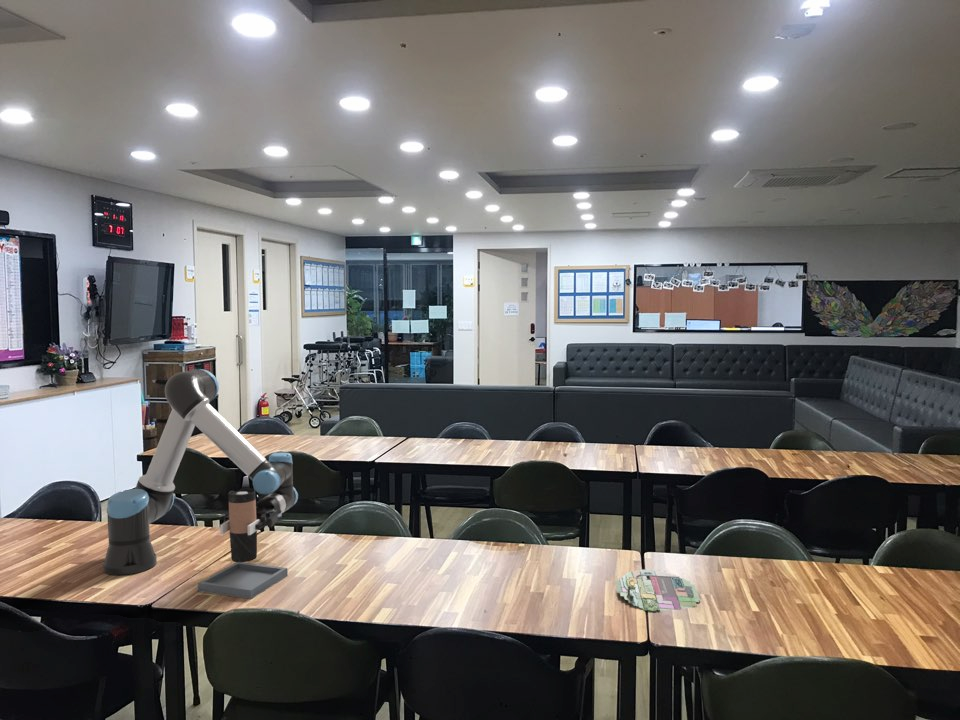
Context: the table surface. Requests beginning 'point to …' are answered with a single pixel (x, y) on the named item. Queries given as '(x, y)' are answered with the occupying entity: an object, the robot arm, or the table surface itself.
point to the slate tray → (243, 580)
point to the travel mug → (242, 525)
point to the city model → (657, 590)
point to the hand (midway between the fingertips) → (235, 530)
